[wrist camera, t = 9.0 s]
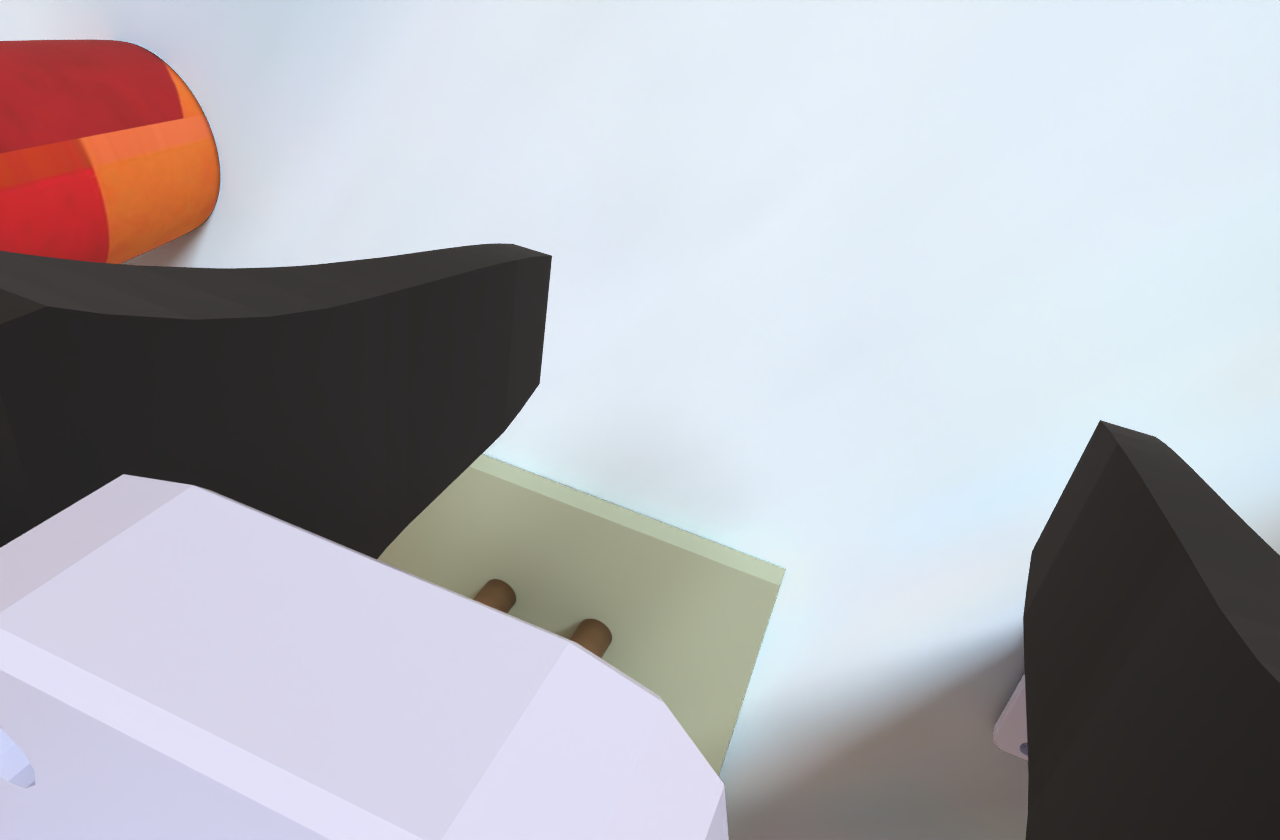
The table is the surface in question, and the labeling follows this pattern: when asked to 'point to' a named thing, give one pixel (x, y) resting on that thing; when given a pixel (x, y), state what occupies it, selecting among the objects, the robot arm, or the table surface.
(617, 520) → the mat
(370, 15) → the table surface
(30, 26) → the table surface
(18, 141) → the coffee cup
